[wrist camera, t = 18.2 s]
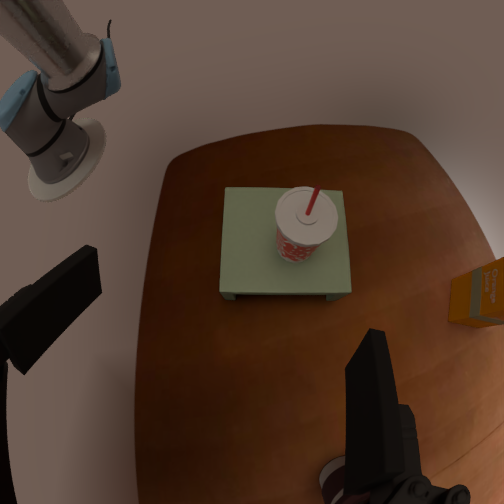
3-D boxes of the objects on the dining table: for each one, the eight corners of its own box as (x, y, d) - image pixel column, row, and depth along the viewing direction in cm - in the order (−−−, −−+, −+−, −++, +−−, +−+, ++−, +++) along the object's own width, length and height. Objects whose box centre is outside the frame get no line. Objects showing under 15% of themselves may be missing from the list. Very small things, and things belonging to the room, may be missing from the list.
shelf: (229, 209, 44) (225, 187, 37) (330, 212, 44) (342, 190, 37) (225, 299, 40) (219, 291, 33) (336, 300, 40) (351, 292, 33)
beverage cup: (263, 230, 36) (268, 165, 22) (308, 216, 36) (334, 150, 23) (279, 275, 34) (296, 232, 20) (326, 260, 34) (366, 211, 21)
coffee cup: (322, 505, 29) (346, 557, 15) (300, 465, 32) (321, 517, 18) (377, 477, 30) (420, 517, 16) (360, 436, 33) (406, 472, 19)
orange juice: (451, 278, 40) (532, 241, 21) (482, 288, 40) (558, 258, 20) (447, 322, 38) (534, 302, 19) (479, 329, 37) (560, 312, 18)
